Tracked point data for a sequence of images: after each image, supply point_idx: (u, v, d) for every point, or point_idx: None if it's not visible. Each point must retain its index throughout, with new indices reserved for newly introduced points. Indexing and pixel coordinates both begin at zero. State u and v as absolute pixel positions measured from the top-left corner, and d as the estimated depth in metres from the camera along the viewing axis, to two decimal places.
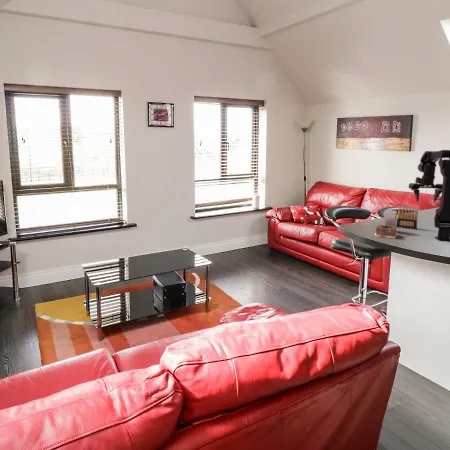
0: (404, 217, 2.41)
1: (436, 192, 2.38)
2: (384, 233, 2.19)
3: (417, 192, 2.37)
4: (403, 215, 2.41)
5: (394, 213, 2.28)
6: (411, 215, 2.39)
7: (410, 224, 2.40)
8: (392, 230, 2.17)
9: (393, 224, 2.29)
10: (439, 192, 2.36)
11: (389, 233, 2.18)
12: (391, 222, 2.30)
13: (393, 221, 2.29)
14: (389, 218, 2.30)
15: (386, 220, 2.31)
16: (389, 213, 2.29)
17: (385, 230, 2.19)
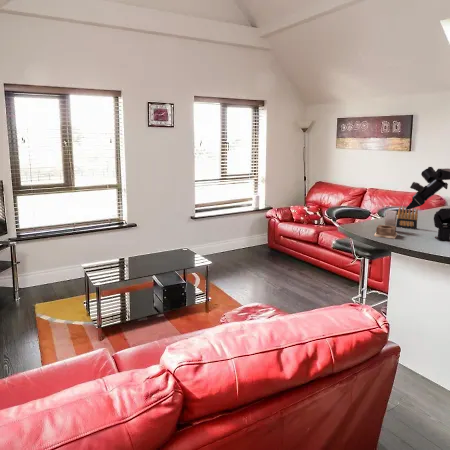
0: (404, 217, 2.41)
1: None
2: (384, 233, 2.19)
3: None
4: (403, 215, 2.41)
5: (394, 213, 2.28)
6: (411, 215, 2.39)
7: (410, 224, 2.40)
8: (392, 230, 2.17)
9: (393, 224, 2.29)
10: None
11: (389, 233, 2.18)
12: (391, 222, 2.30)
13: (393, 221, 2.29)
14: (389, 218, 2.30)
15: (386, 220, 2.31)
16: (389, 213, 2.29)
17: (385, 230, 2.19)
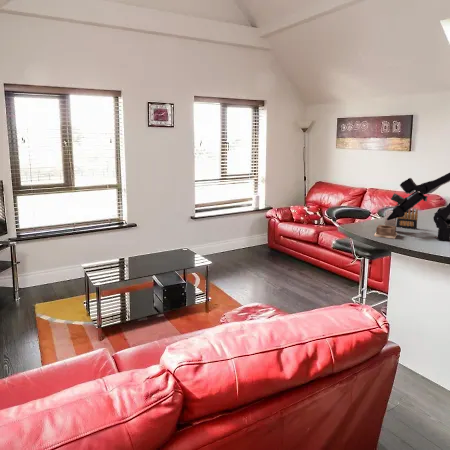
0: (404, 217, 2.41)
1: None
2: (384, 233, 2.19)
3: (398, 217, 2.26)
4: None
5: None
6: (411, 215, 2.39)
7: (410, 224, 2.40)
8: (392, 230, 2.17)
9: (393, 224, 2.29)
10: None
11: (389, 233, 2.18)
12: (391, 222, 2.30)
13: (393, 221, 2.29)
14: None
15: (386, 220, 2.31)
16: (389, 213, 2.29)
17: (385, 230, 2.19)
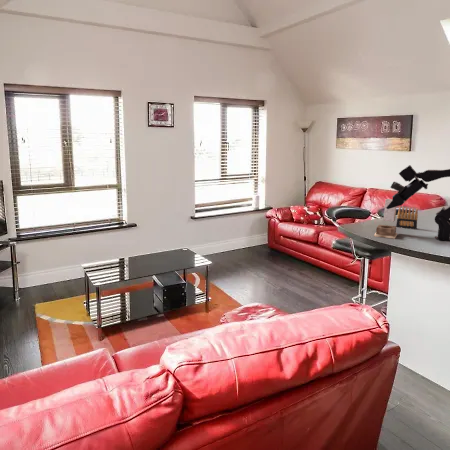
0: (404, 217, 2.41)
1: None
2: (384, 233, 2.19)
3: (398, 205, 2.21)
4: (403, 215, 2.41)
5: None
6: (411, 215, 2.39)
7: (410, 224, 2.40)
8: (392, 230, 2.17)
9: (393, 213, 2.24)
10: None
11: (389, 233, 2.18)
12: (391, 211, 2.24)
13: (393, 210, 2.24)
14: None
15: (386, 209, 2.25)
16: (389, 202, 2.24)
17: (385, 230, 2.19)
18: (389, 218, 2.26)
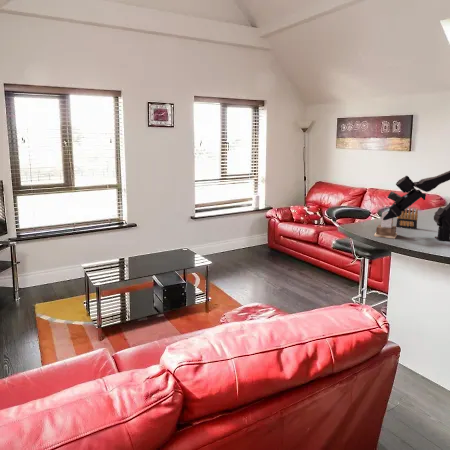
0: (404, 217, 2.41)
1: None
2: (384, 233, 2.19)
3: None
4: (403, 215, 2.41)
5: None
6: (411, 215, 2.39)
7: (410, 224, 2.40)
8: (392, 230, 2.17)
9: (390, 226, 2.19)
10: None
11: (389, 233, 2.18)
12: (387, 224, 2.19)
13: (390, 223, 2.19)
14: (386, 220, 2.19)
15: (382, 222, 2.20)
16: (385, 215, 2.19)
17: (385, 230, 2.19)
18: None
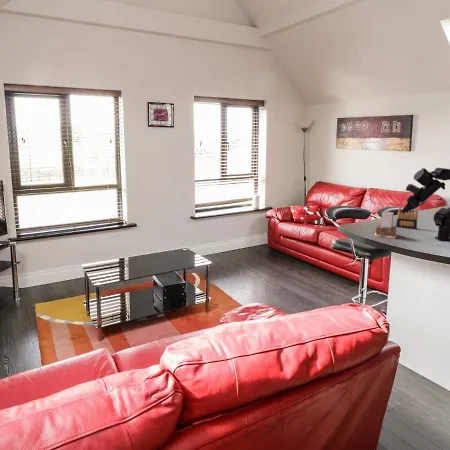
0: (404, 217, 2.41)
1: None
2: (384, 233, 2.19)
3: (413, 208, 2.10)
4: (403, 215, 2.41)
5: (391, 215, 2.18)
6: (411, 215, 2.39)
7: (410, 224, 2.40)
8: (392, 230, 2.17)
9: (390, 226, 2.19)
10: None
11: (389, 233, 2.18)
12: (387, 224, 2.19)
13: (390, 223, 2.19)
14: (386, 220, 2.19)
15: (382, 222, 2.20)
16: (385, 215, 2.19)
17: (385, 230, 2.19)
18: None
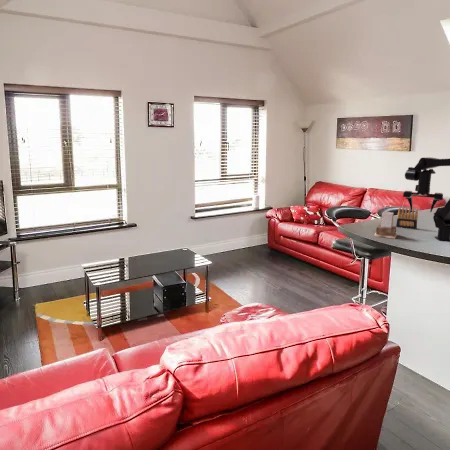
0: (404, 217, 2.41)
1: None
2: (384, 233, 2.19)
3: (409, 200, 2.25)
4: (403, 215, 2.41)
5: (391, 215, 2.18)
6: (411, 215, 2.39)
7: (410, 224, 2.40)
8: (392, 230, 2.17)
9: (390, 226, 2.19)
10: (434, 202, 2.20)
11: (389, 233, 2.18)
12: (387, 224, 2.19)
13: (390, 223, 2.19)
14: (386, 220, 2.19)
15: (382, 222, 2.20)
16: (385, 215, 2.19)
17: (385, 230, 2.19)
18: None
